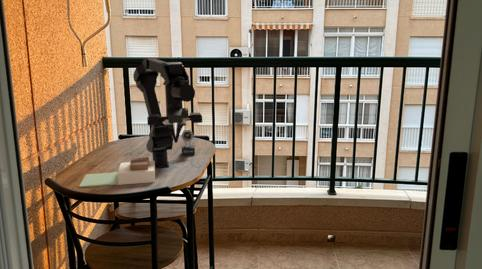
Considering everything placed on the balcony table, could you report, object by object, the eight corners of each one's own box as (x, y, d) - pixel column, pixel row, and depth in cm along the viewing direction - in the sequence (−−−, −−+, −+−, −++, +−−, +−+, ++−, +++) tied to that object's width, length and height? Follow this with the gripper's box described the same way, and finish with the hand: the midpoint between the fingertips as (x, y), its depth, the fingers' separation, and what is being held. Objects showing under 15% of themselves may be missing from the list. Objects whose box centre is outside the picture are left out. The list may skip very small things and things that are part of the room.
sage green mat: (86, 175, 145) (85, 174, 145) (121, 173, 147) (121, 171, 147) (79, 187, 133) (79, 186, 132) (118, 184, 135) (118, 183, 135)
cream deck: (121, 173, 147) (121, 162, 147) (155, 170, 150) (154, 160, 149) (118, 184, 135) (117, 173, 134) (154, 182, 137) (154, 170, 136)
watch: (181, 156, 169) (180, 131, 167) (182, 151, 177) (181, 127, 175) (194, 156, 170) (194, 130, 167) (195, 151, 178) (194, 127, 175)
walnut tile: (131, 163, 145) (131, 158, 145) (148, 162, 147) (148, 157, 146) (130, 170, 137) (129, 165, 136) (148, 169, 138) (147, 164, 138)
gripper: (145, 102, 130) (148, 149, 133) (203, 100, 133) (204, 146, 137) (146, 98, 140) (149, 142, 144) (199, 96, 144) (201, 139, 147)
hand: (176, 142), depth 142 cm, fingers closed
